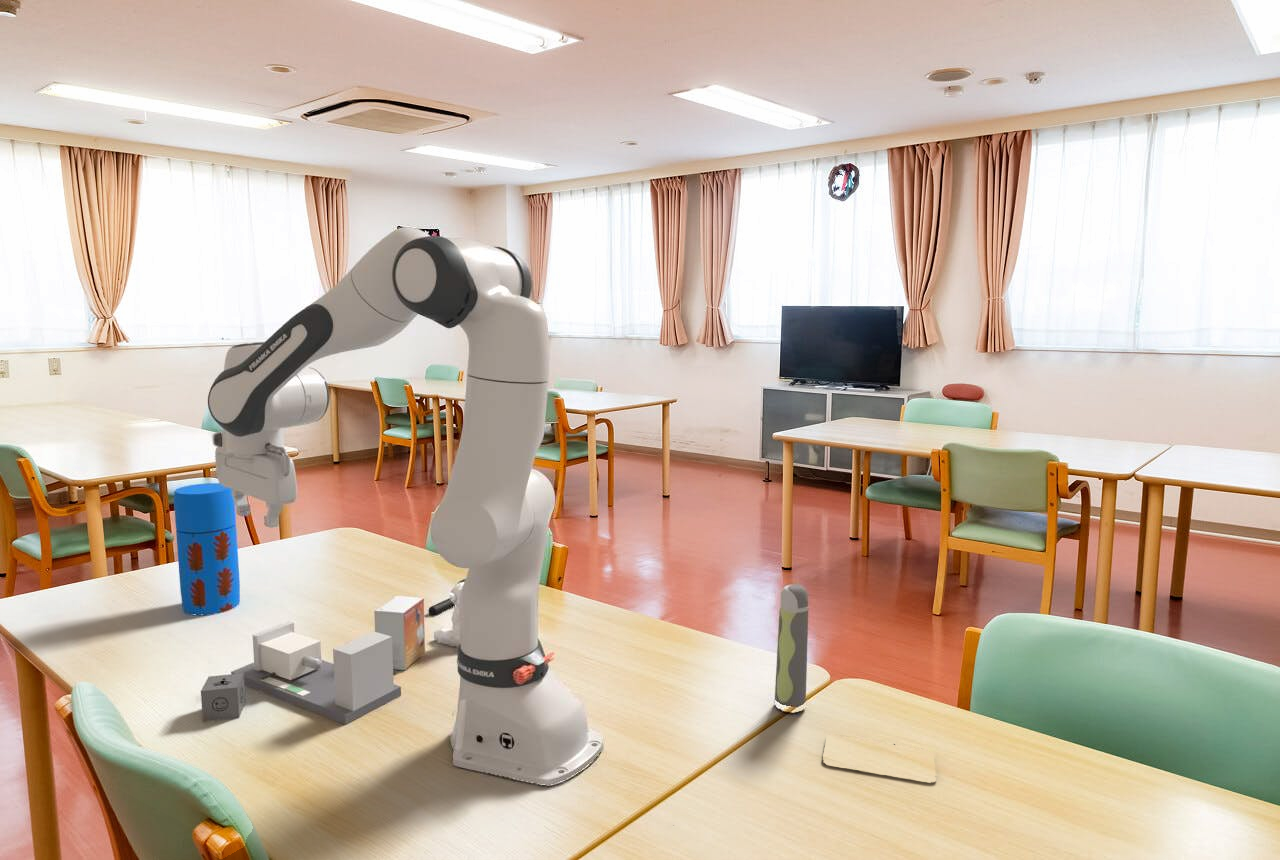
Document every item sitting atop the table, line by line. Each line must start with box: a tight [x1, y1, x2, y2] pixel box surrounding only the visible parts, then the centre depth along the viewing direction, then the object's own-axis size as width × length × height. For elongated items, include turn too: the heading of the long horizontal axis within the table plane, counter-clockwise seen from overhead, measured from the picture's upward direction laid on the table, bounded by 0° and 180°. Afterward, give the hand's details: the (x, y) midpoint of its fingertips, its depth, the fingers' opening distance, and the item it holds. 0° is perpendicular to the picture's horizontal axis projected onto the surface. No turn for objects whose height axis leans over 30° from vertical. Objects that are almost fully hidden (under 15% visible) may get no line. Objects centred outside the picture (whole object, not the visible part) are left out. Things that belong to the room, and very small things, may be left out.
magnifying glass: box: [428, 578, 466, 617], centre depth 177 cm, size 12×24×2 cm, turn 154°
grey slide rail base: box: [230, 631, 402, 725], centre depth 133 cm, size 28×11×10 cm, turn 60°
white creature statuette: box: [433, 582, 464, 649], centre depth 152 cm, size 10×9×12 cm
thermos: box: [173, 482, 241, 616], centre depth 168 cm, size 11×11×25 cm
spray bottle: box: [774, 583, 809, 707], centre depth 128 cm, size 5×5×20 cm
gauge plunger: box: [252, 621, 322, 680], centre depth 135 cm, size 12×9×6 cm
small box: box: [373, 595, 426, 671], centre depth 144 cm, size 8×6×10 cm
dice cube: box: [200, 673, 246, 723], centre depth 126 cm, size 5×5×5 cm
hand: (257, 520), depth 138 cm, fingers open, 8 cm apart
